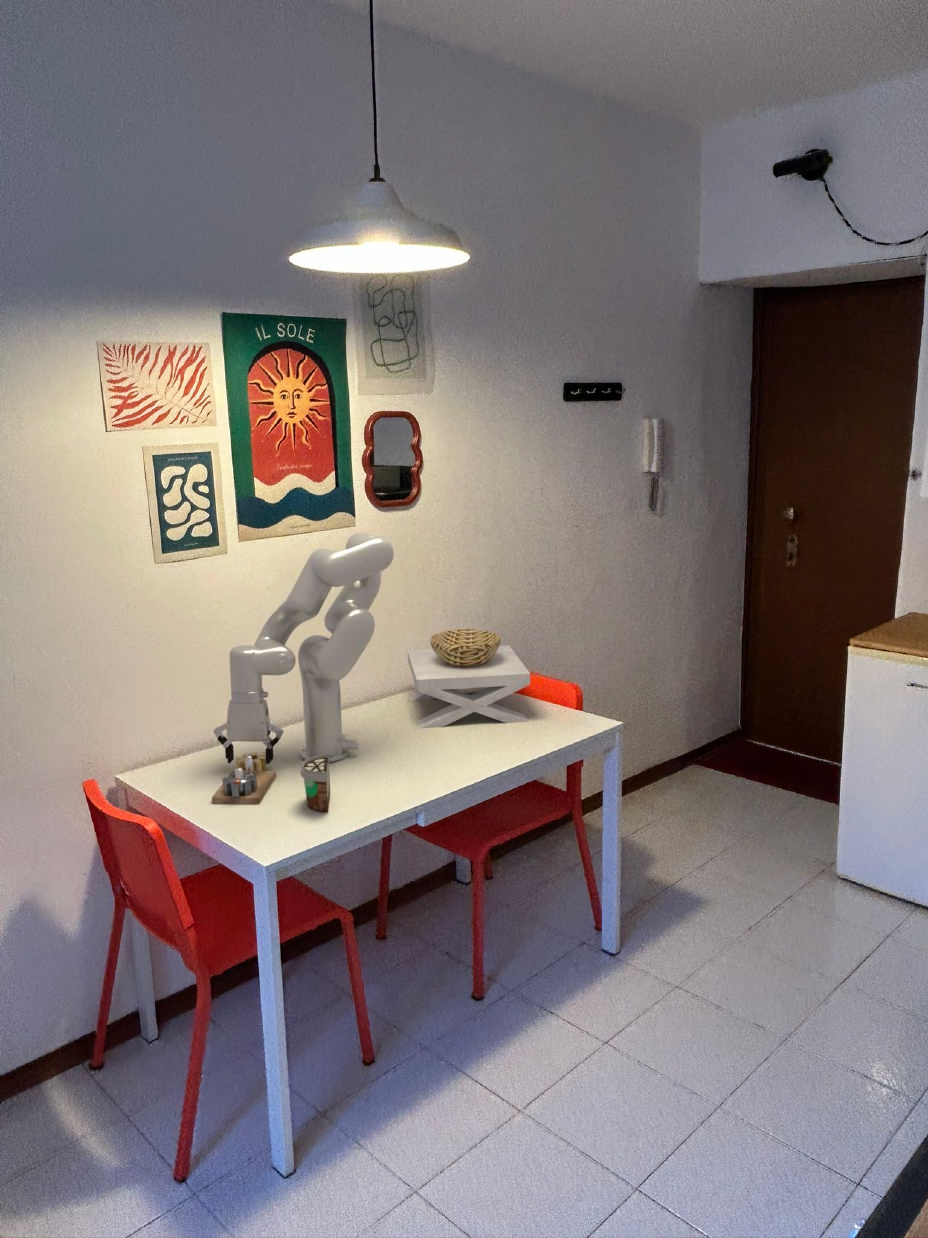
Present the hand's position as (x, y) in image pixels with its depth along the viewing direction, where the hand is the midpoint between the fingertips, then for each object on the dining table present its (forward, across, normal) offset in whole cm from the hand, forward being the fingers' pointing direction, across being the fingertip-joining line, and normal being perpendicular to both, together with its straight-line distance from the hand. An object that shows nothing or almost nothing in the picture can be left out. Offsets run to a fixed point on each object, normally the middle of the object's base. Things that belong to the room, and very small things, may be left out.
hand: (249, 761), depth 237 cm
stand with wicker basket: (+1, -52, -50) cm, 72 cm away
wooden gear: (+2, 0, 0) cm, 2 cm away
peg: (+1, -2, +8) cm, 8 cm away
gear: (+1, -2, +16) cm, 16 cm away
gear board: (+2, -2, +12) cm, 13 cm away
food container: (+2, -21, +20) cm, 29 cm away
